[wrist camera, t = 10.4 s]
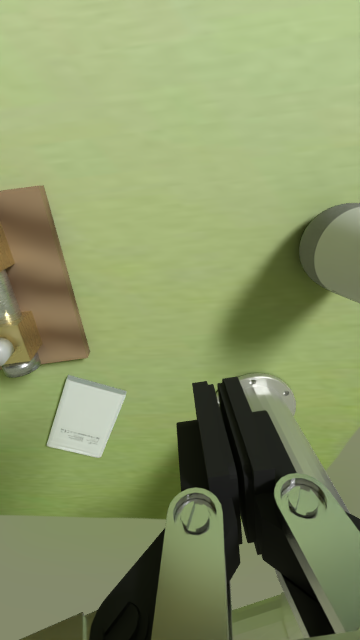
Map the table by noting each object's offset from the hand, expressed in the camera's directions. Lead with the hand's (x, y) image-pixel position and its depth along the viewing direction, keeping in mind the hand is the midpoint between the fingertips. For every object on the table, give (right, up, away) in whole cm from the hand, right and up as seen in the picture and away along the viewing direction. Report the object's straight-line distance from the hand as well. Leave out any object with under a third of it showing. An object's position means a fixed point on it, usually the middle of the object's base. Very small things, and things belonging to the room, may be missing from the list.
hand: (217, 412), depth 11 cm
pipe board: (-21, +7, +25) cm, 33 cm away
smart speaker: (+16, +13, +25) cm, 33 cm away
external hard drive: (-15, -10, +34) cm, 38 cm away
